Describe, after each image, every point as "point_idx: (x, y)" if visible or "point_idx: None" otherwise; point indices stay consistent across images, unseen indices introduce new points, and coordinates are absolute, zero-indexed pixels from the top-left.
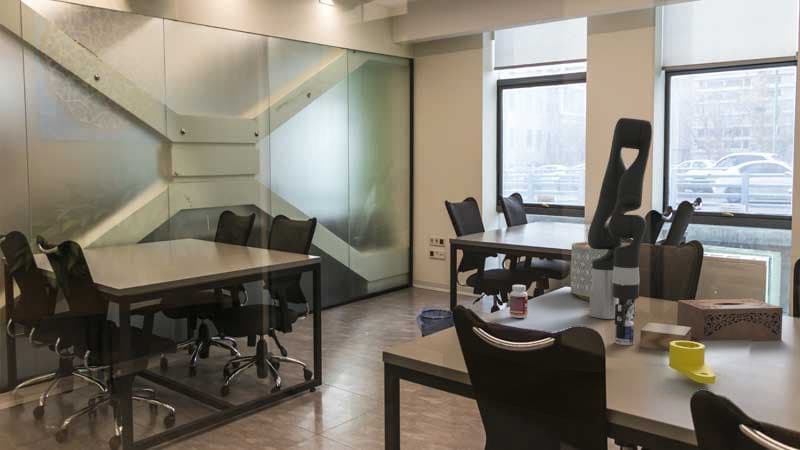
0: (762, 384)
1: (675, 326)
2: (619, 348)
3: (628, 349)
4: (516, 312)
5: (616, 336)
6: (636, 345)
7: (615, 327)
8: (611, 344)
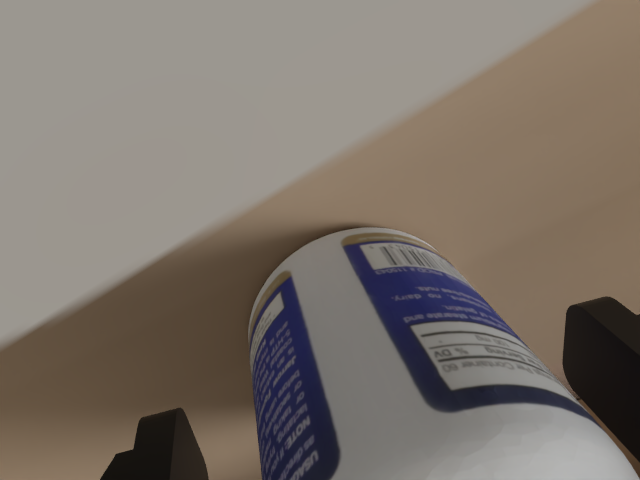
0: None
1: None
2: (86, 396)
3: None
4: None
5: (272, 335)
6: None
7: (346, 393)
8: (189, 248)
